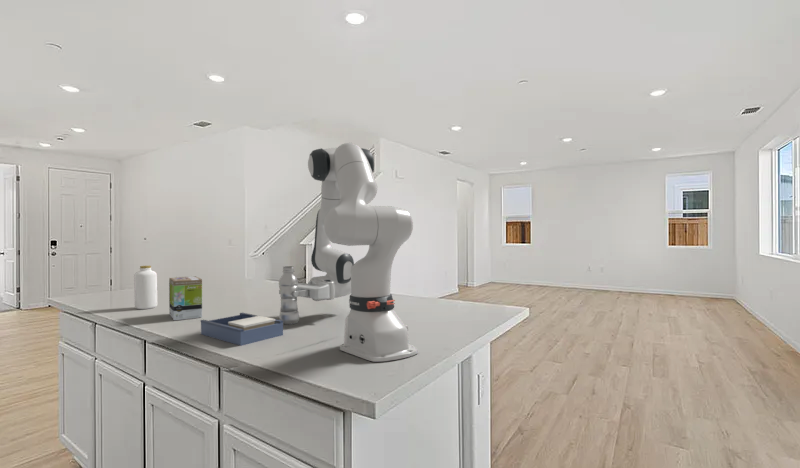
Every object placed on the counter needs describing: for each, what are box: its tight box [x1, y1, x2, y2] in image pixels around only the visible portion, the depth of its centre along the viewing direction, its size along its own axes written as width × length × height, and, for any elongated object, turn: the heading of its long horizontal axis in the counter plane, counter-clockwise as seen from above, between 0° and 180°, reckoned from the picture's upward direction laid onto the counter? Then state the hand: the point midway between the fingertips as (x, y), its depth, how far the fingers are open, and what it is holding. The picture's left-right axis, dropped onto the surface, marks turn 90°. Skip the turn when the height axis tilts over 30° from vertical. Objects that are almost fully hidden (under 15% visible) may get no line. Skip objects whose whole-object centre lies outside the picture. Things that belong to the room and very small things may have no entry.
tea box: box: [168, 276, 203, 321], centre depth 160 cm, size 15×10×15 cm, turn 34°
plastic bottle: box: [278, 265, 300, 325], centre depth 142 cm, size 6×7×20 cm
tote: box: [200, 312, 284, 347], centre depth 127 cm, size 22×14×5 cm, turn 52°
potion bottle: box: [133, 265, 158, 310], centre depth 178 cm, size 8×8×18 cm
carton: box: [228, 315, 276, 331], centre depth 124 cm, size 8×10×5 cm
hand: (286, 293), depth 142 cm, fingers closed on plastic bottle, 6 cm apart
